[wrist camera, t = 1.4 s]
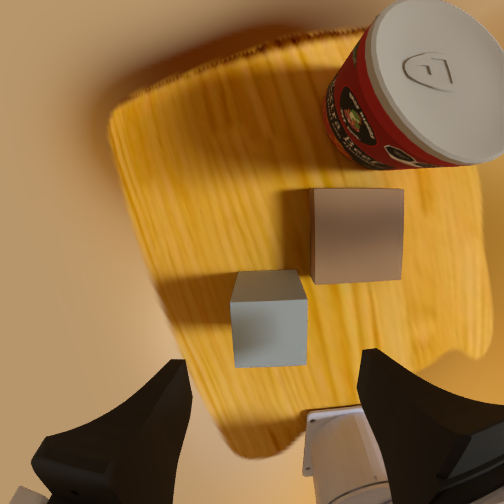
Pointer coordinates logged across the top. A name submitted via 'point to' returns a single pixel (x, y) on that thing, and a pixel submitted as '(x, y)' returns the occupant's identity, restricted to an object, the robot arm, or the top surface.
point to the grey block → (269, 319)
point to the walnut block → (356, 234)
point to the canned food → (419, 91)
